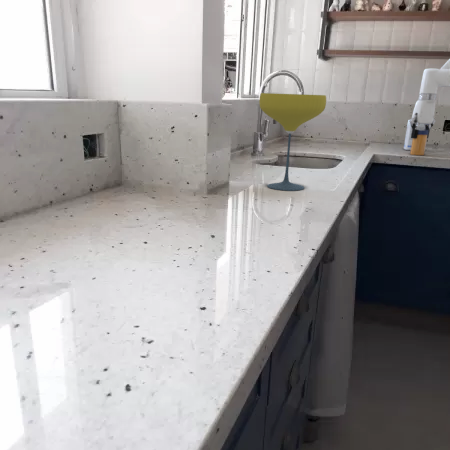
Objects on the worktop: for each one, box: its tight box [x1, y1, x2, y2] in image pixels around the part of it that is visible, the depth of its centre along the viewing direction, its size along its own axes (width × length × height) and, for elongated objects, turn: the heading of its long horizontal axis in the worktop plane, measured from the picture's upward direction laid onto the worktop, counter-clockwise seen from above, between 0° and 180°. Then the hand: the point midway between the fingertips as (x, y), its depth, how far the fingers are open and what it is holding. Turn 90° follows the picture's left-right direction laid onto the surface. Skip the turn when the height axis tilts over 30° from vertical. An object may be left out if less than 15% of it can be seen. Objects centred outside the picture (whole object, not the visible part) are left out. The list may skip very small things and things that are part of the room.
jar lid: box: [417, 129, 430, 135], centre depth 229 cm, size 7×7×2 cm
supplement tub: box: [403, 119, 425, 151], centre depth 250 cm, size 10×10×15 cm
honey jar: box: [409, 135, 428, 156], centre depth 231 cm, size 6×6×11 cm
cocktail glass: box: [258, 92, 327, 192], centre depth 136 cm, size 18×18×25 cm
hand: (419, 137), depth 231 cm, fingers closed on jar lid, 6 cm apart
